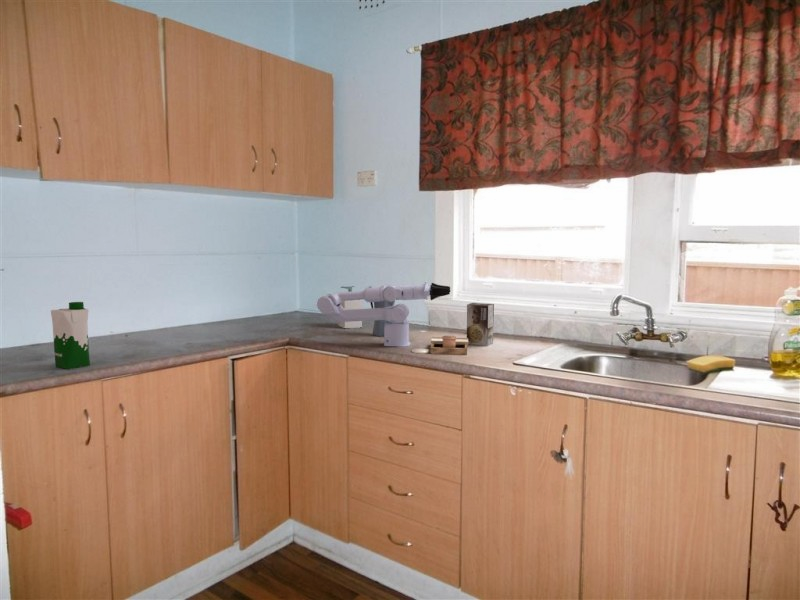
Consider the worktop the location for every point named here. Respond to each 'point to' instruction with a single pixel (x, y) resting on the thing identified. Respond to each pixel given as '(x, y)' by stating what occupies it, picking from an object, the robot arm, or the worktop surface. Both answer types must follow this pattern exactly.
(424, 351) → the saucer
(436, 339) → the lid
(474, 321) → the coffee box
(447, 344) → the pot
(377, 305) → the moka pot
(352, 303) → the soap bottle
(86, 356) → the milk carton
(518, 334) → the worktop surface
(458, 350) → the cold frame
